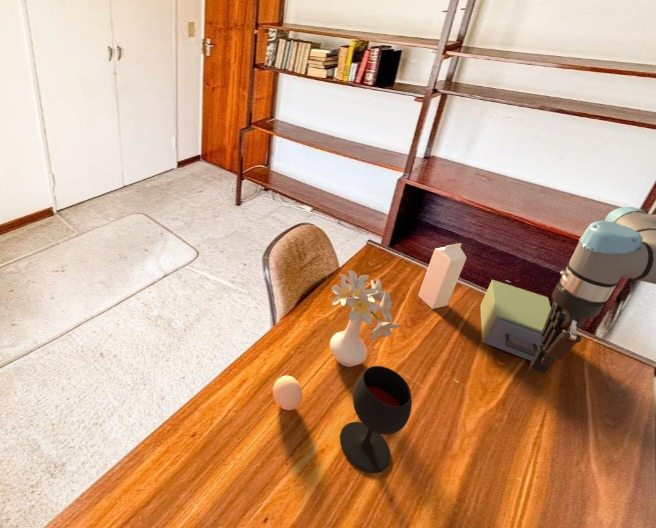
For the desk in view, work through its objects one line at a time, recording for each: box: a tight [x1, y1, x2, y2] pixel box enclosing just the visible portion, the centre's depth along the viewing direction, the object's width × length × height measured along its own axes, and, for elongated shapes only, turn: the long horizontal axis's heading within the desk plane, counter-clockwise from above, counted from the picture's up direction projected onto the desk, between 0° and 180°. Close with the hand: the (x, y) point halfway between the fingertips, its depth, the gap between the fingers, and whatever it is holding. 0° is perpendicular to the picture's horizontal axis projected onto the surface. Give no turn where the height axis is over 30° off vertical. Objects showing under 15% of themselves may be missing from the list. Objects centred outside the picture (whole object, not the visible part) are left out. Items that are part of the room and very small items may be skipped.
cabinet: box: [479, 279, 552, 344], centre depth 113 cm, size 17×14×11 cm
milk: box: [417, 242, 468, 310], centre depth 121 cm, size 6×6×22 cm
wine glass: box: [339, 365, 413, 474], centre depth 81 cm, size 10×10×20 cm
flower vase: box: [329, 269, 402, 368], centre depth 100 cm, size 13×18×25 cm
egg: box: [272, 375, 303, 411], centre depth 92 cm, size 7×7×8 cm
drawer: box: [485, 318, 543, 362], centre depth 110 cm, size 20×12×9 cm, turn 149°
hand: (537, 369), depth 91 cm, fingers closed
